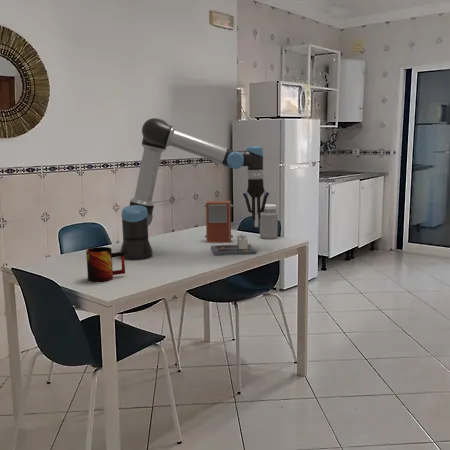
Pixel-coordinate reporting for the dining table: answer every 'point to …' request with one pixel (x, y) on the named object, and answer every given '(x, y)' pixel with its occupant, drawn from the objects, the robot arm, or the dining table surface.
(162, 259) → the dining table surface
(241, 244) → the tab front
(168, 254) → the dining table surface
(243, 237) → the tab back
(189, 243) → the dining table surface
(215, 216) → the orange rectangular box
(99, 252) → the mug
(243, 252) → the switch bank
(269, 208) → the jar
